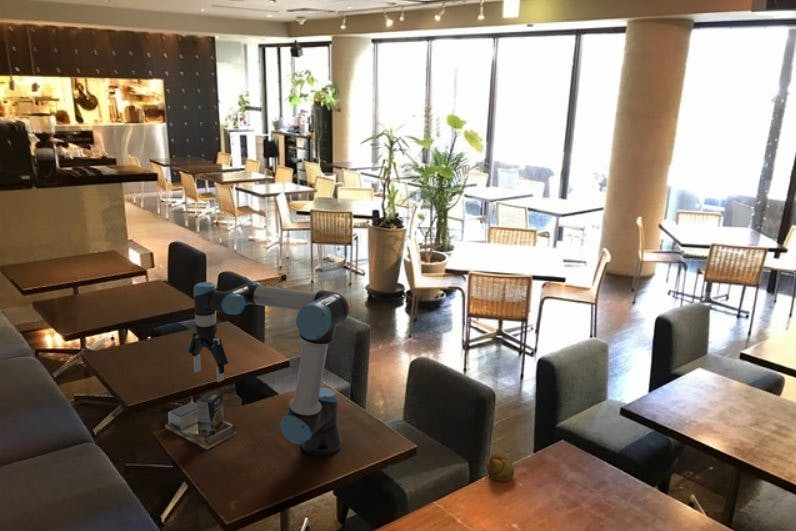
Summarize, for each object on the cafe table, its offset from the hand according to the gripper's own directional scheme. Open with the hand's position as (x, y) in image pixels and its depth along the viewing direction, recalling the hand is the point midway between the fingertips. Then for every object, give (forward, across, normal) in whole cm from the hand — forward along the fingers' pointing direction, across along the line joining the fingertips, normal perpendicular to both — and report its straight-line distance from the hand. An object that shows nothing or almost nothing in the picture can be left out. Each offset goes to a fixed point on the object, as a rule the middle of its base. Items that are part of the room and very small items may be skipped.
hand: (209, 375), depth 233 cm
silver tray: (+26, +7, 0) cm, 27 cm away
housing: (+24, +16, 0) cm, 29 cm away
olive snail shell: (+27, -101, -48) cm, 115 cm away
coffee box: (+25, 0, 0) cm, 25 cm away
